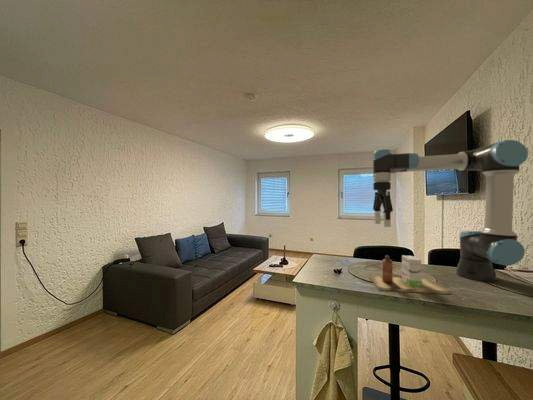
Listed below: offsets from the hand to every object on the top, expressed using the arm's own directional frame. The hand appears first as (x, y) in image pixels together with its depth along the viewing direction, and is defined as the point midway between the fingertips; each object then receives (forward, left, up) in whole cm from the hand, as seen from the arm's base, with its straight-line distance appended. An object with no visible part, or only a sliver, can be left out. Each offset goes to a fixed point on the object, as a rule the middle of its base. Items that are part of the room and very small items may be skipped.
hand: (382, 225), depth 111 cm
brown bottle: (0, +6, -25) cm, 26 cm away
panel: (-8, +6, -27) cm, 29 cm away
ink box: (-10, +6, -26) cm, 28 cm away
